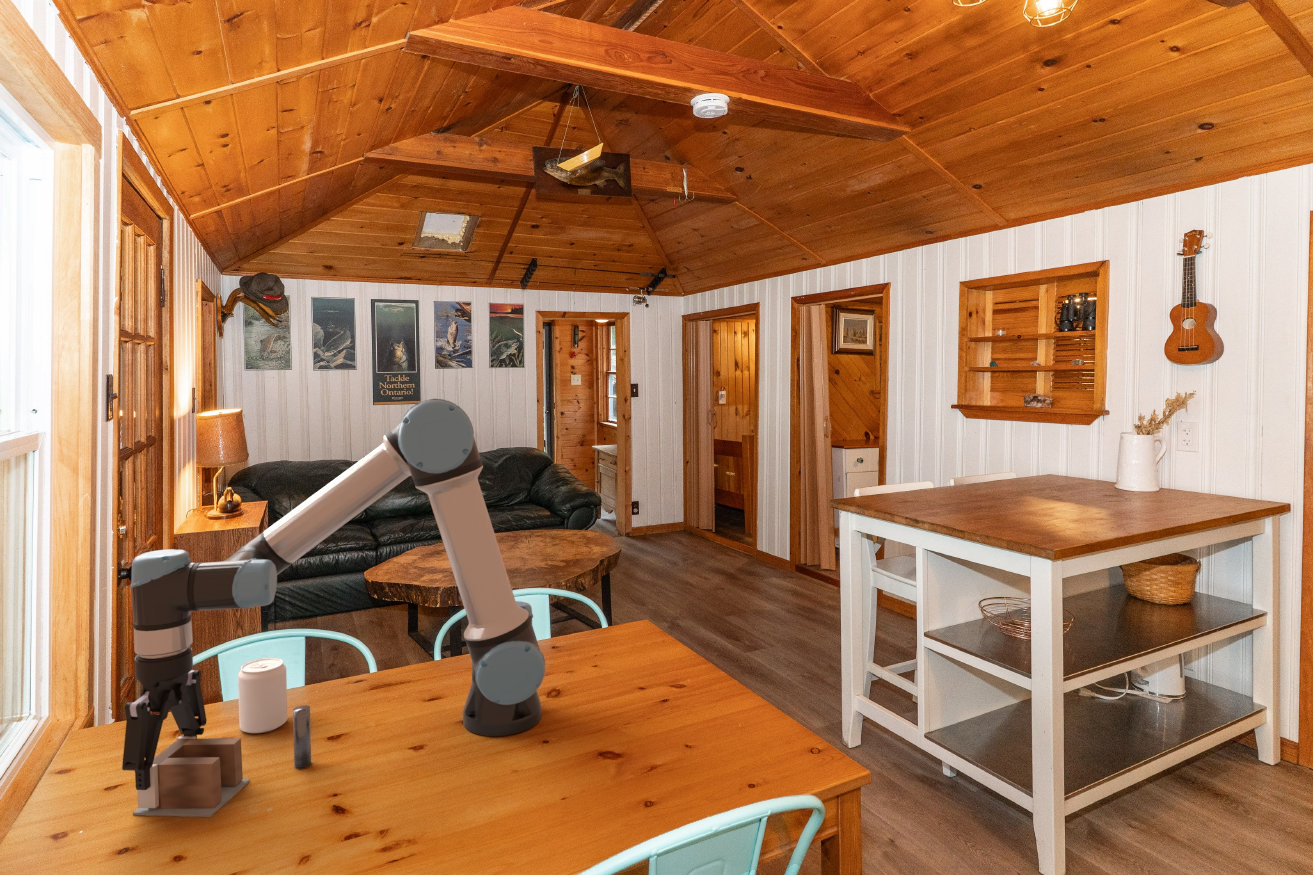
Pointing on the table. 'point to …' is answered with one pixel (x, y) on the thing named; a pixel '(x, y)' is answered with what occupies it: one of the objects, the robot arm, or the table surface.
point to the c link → (197, 772)
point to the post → (302, 737)
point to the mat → (196, 812)
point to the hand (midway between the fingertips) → (169, 790)
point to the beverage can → (262, 695)
